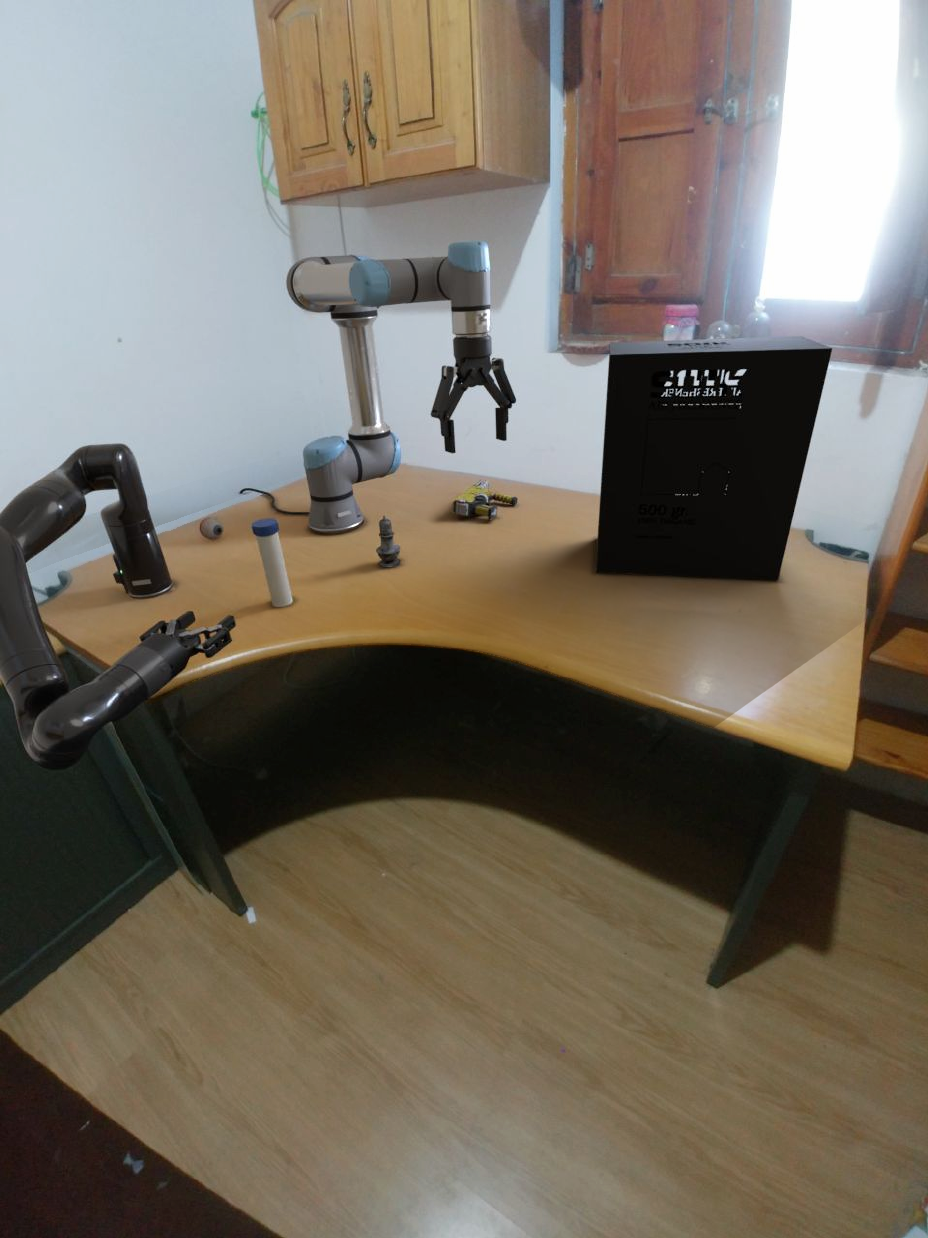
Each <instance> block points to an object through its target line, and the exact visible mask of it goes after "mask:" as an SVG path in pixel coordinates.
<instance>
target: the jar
mask: <svg viewBox="0 0 928 1238" xmlns="http://www.w3.org/2000/svg"><path fill="white" fill-rule="evenodd" d="M255 537H256V538H255V539H256V541H257V545H258V550H259V554H260V559H261V562H262V566H263V571H264V574H265V578H266V583H267V587H268V591H269V594H270V600H271V604H272V606H273V607H275V608H284V607H288V606H290V605H292V603H293V602H294V600H293V597H292V591H291V586H290V582H289V577H288V573H287V568H286V564H285V563H286V562H285V559H284V554H283V549H282V545H281V541H280V537H279V531H278V532H277V533H275V534H272V535H269V536H256V535H255Z"/></svg>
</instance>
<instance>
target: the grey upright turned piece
mask: <svg viewBox="0 0 928 1238" xmlns="http://www.w3.org/2000/svg"><path fill="white" fill-rule="evenodd" d="M378 528H379V533H378V536H379V537H380V538H379V539H380V546H378V547H376V549H375V552H376V553H377V555H378V557H379V558H380V559H381V560H379V562H378V565H379V567H382V568H395V567H398V566H399V565H400V564H401V562H402V560H401V559H400V558H398V557H399V556H400V551H401V546H399V544H395V540H394V535H395V532H393V526H392V521H391V519H389V518H386V515H383V516H382V519H380V520H379V522H378Z"/></svg>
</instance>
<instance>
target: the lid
mask: <svg viewBox="0 0 928 1238" xmlns="http://www.w3.org/2000/svg"><path fill="white" fill-rule="evenodd" d="M251 529H252V534H253V535H254V536H255V537H256V536H269V535H272V534H275V533H277V532H278V533H279V530H280V526H279V522H278V519H276V518H273V517H271V518H270V517H267V518H260V519H257V520H254V521H253V522H251Z"/></svg>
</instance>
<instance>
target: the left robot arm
mask: <svg viewBox="0 0 928 1238" xmlns="http://www.w3.org/2000/svg"><path fill="white" fill-rule="evenodd" d="M111 490H117V493H118V500H116V501H114V502H112V503H110V504H107V505H106V506H104V507H102V508H101V510H100V518H101V521H102V523H103V525H104V528H105V531H106V534H107V537H108V539H109V542H110V544H111V547H112V550H113V553H114V554H112V559H113V562H114V565H115V567H116V569H117V570H116V571H115V572H113V573H112V576H113V578H114V580H115V583H116V584H120V585H122V586H123V590H124V592H125V594H126V595H127V594H128V595H129V596H130V597H131V598H134V599H149V598H154V597H157V596H160V595H163V594H166V593H167V592H168V591H170V590H171V589H172V588H173V587H174V582H173V580H172V576H171V574H170V571H169V568H168V565H167V562H166V559H165V555H164V552H163V550H162V546H161V543H160V540H159V537H158V534H157V531H156V528H155V526H154V522H153V519H152V516H151V513H150V510H149V504H148V497H147V494H146V490H145V487H144V483H143V479H142V475H141V472H140V468H139V464H138V461H137V458H136V456H135V454H134V452H133V450H132V449H131V448H130V447H129V446H128V445H127V444H125V443H120V442H114V443H112V442H111V443H95V444H86V445H82V446H80V447H79V448H77V449H76V450H74V451H73V452H72V453H71V454H70V455H68V457H67V458H66V459H65V460H64V461H63V462H62V463H61V464H60V465H59V466H58V467H57V468H55V469H53V470H52V471H50V472H49V473H48V474H46V475H45V476H43V477H42V478H40V479H38V480H37V481H35V482H33V483H32V484H30V485H29V486H27V487H26V488H24V489H23V490H21V491H20V492H18V494H16V495H15V496H14V497H13V498H12V499H11V500H10V501H9V503H8V504H6V506H5V507H4V508H3V509H2V511H0V679H1V681H2V683H3V685H4V688H5V689H6V692H7V694H8V696H9V697H10V699H11V701H12V705H13V709H14V713H15V718H16V722H17V726H18V731H19V734H20V738H21V741H22V745H23V746H24V749H25V751H26V753H27V755H28V756H29V758H30V759H31V760H32V762H34V763H35V764H36V765H38V766H39V767H41V768H43V769H46V770H50V771H61V770H67V769H69V768H71V767H73V766H75V765H76V764H78V762H80V761H81V759H82V758H83V757H84V756H85V754H86V752H87V751H88V749H89V746H90V744H91V742H92V740H93V738H94V737H95V736H96V735H97V734H98V732H99V731H101V730H102V729H103V727H105V726H106V725H107V724H109V723H113V722H118V721H120V720H122V719H124V718H125V717H127V716H128V715H129V714H130V713H132V712H133V711H134V710H135V709H137V708H138V707H139V706H140V705H141V704H142V703H144V702H145V701H146V700H147V699H149V698H151V697H152V696H154V695H155V694H157V693H158V692H160V691H161V690H162V689H163V688H165V686H167V685H168V684H169V683H170V682H171V681H172V680H174V679H175V678H176V677H177V676H179V675H180V674H181V673H182V672H183V671H185V669H186V668H187V666H188V664H189V660H190V659H191V658H192V657H194V656H196V655H198V654H204V656H205V658H206V659H211V658H213V657H214V656H216V655H217V654H218V653H220V652H221V651H222V650H223V649H224V648H225V647H227V646H229V644H231V643H232V642H233V638H232V636H231V633H230V632H231V631H232V630H233V629H235V628H236V627H237V623H236V619H235V616H234V615H232V614H227V616H226V617H224V618H223V619H221V620H220V621H218V623H217V624H216V625H214V626H210V627H206V626H202V627H199V628H196V629H188V628H189V627H190V626H191V625H192V624H194V623H195V622H196V616H195V613H194V611H193V610H187V611H186V612H184V613H183V614H181V615H180V616H179V617H177V618H176V619H171V620H169V621H168V622H166V620H165V619H164V620H159V621H158V622H156V623H155V624H154V625H153V626H151V627H150V628H149V629H147V630H146V631H145V632H143V633H142V634H141V635H139V640H140V643H139V644H136V646H134V647H133V648H131V649H130V650H128V651H127V652H126V653H124V654H123V655H122V656H121V657H119V659H117V660H116V661H115V662H114V663H113V664H112V665H111V666H110V667H108V668H107V669H105V670H104V671H102V672H101V673H100V674H98V675H97V676H95V677H94V678H93V679H92V680H91V681H89V682H88V683H84V684H82V685H80V686H78V687H76V688H73V689H72V690H70V681H69V677H68V674H67V672H66V670H65V668H64V666H63V664H62V661H61V660H60V658H59V656H58V654H57V651H56V649H55V647H54V646H53V644H52V641H51V639H50V637H49V635H48V633H47V632H48V631H47V630H46V627H45V624H44V622H43V619H42V617H41V613H40V610H39V607H38V603H37V601H36V597H35V593H34V590H33V586H32V583H31V578H30V575H29V571H28V568H27V563H28V562H29V561H30V560H32V559H33V558H34V557H36V556H37V555H39V554H40V553H41V552H43V551H44V550H45V549H47V548H48V547H50V546H51V545H52V544H54V543H55V542H56V541H57V540H58V539H60V538H61V537H63V536H64V535H65V534H66V533H68V532H69V531H70V530H71V529H72V528H74V527H75V526H76V525H77V524H78V523H79V522H80V521H81V520H82V519H83V518H84V516H85V513H86V511H87V499H86V496H87V495H88V494H90V493H93V492H98V491H111ZM212 633H215V634H213V635H212V636H211V634H212ZM200 635H203V636H204V642H203V643H202V639H201V636H200Z"/></svg>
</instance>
